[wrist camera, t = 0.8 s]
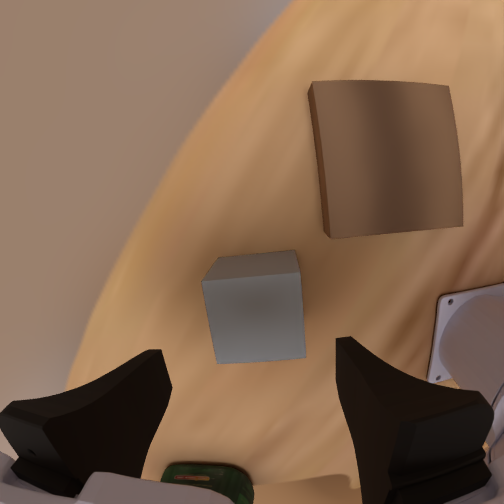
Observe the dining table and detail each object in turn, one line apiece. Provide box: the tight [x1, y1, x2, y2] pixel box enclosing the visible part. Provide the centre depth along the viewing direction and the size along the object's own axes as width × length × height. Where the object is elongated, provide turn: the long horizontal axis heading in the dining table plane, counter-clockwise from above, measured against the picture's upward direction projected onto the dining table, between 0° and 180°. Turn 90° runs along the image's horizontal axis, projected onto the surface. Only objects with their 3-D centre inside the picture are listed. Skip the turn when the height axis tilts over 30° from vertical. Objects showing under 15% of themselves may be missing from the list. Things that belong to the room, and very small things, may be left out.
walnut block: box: [308, 80, 463, 239], centre depth 17 cm, size 9×9×3 cm
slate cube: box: [201, 250, 306, 364], centre depth 19 cm, size 5×5×5 cm
